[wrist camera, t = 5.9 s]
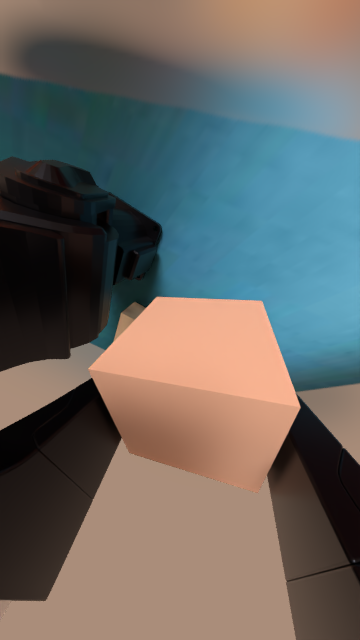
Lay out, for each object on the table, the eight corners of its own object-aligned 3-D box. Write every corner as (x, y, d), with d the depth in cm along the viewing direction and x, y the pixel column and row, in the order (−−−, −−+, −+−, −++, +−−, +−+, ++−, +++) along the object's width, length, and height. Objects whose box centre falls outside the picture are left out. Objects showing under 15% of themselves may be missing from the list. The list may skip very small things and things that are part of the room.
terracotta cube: (167, 366, 11) (129, 453, 7) (156, 296, 9) (88, 369, 4) (246, 378, 10) (257, 493, 6) (261, 300, 7) (300, 407, 3)
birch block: (123, 339, 27) (110, 353, 24) (135, 300, 22) (121, 312, 19) (166, 363, 27) (158, 380, 24) (187, 329, 22) (181, 345, 20)
